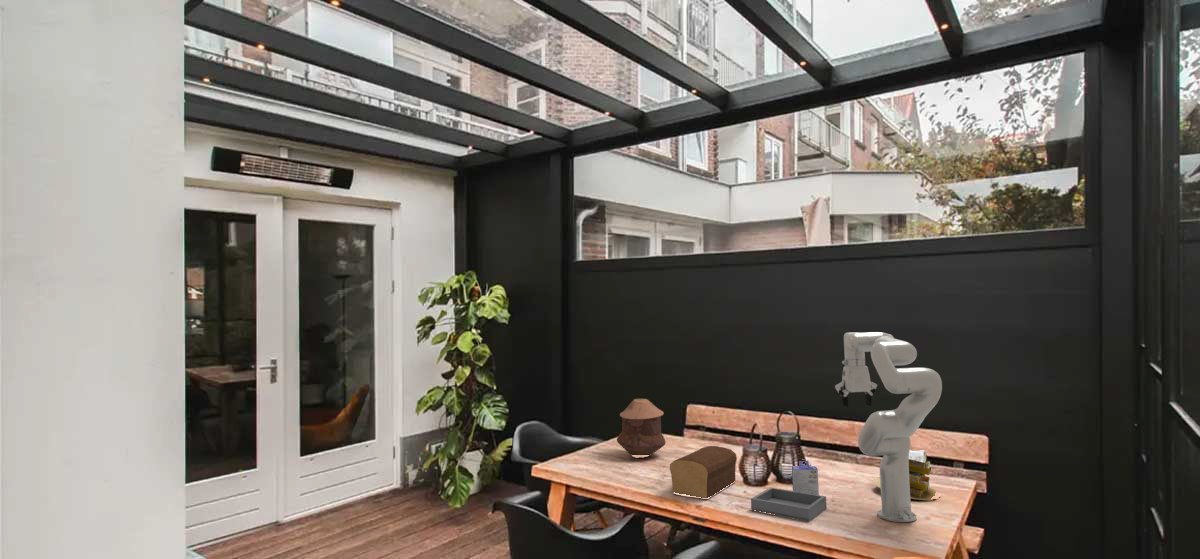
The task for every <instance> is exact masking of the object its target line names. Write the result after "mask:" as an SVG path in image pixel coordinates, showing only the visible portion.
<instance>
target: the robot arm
mask: <svg viewBox="0 0 1200 559" xmlns="http://www.w3.org/2000/svg"><path fill="white" fill-rule="evenodd" d="M843 348H844V360H842V361H841V364H842V365H844V366H843V370H842V374H841V376H842V377H841V378H842V379H841V381H840V382H839V383H837V384H835V385H834V388H835V390H836V391H837V393H838V394H839V395H840V396H841V405H842V406H843V407H845V408H848V407H849V397H848V395H849V394H850V393H865V397H864V400H865V406H868V407H871V406H872V403H873V400H872V397H873V395H874V393H875V392H876V390H877V387H878V384H877V383H875V382H873V381H871V375H870V372H869V367H868V366H867V365H866V356H865V355H866V353H869V352H870V357H871V361H872V364H873V366H874V367H875V370H876V372H877V374H878V376H879V378H880V379H881V382H882V383H883V386H884V388H885V389H886V390H887V391H888V392H890V393H891V394H896V395H902V394H909V395H908V396H906V397H904V398H903V400H902V401H901V402H900V403H899V405H898V407H896V408H895V409H890V410H877V411H875V412H873V413H871V414H870V415H869V417H867V419H866V421H865V423H864V425H863V427H862V428H861V429H860V432H859V434H858V437H857V438H858V439H857V446H858V448H859V450H860V451H861V453H863V454H864V455H866V456H870V457H878V456H882V458H881V461H880V463H879V477H880V485H881V488H880V502H881V503H880V504H881V508H880V509H878V510H877V511H876V512H877V516H878V517H879V518H880V519H882V520H884V521H889V522H894V523H911V522H914V521H916V520H917V514H915V513H914V512H913V511H912V503H911V498H910V483H909V451H910V450H911V437H912V436H913V435H915V433H916V431H917V430H918V429H919V427H920V426H921V424H922V423H923V422H924V420H925V418H926V417H927V416H928V415H929V413H930V412H931V411H932V410H933V409H934V408H935V406H936V405H937V404H938V402H939V400H940V398H941V395H942V391H943V381H942V378H941V375H940V374H939V373H938V372H937V371H935V370H934V369H933V368H932V369H931V368H928V367H896V366H907V365H909V364H912V363H913V362H914V361H915V360H916V358H918V357H917V356H918V351H917V349H916V347H915V346H914V345H913V344H912V343H910V342H908V341H906V340H901V339H897V338H895V337H894V336H893V335H892V334H890V333H886V332H879V331H870V332H869V331H868V332H859V331H858V332H857V331H856V332H854V331H853V332H850V331H849V332H845V333H844V335H843ZM841 388H842V389H841Z"/></svg>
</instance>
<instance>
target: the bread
mask: <svg viewBox="0 0 1200 559" xmlns="http://www.w3.org/2000/svg"><path fill="white" fill-rule="evenodd" d="M737 457H738V456H737V453H736V452H735V451H733V450H732V449H731V448H727V447H724V446H717V445H708V446H703V447H701V448H699V449H697V450H695V451H693V452H691V453H689V454H687V455H683V456H682V457H679V458H676V459H675V460H673V461H672V462H670V464H669V471H670V474H671V475H670V476H671V485H672V486H671V487H672V493H673V492H675V493H679V494H686V495H690V496H696V497H701V498H708V497H710V496H712V495H714V494H715V493H717V492H719V491H720V490H722V489H723V488H725V487H726V486H728V485H730V484H731V483H733V482H734V481H735V482H736V468H737V466H736V464H737V460H738V458H737Z"/></svg>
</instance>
